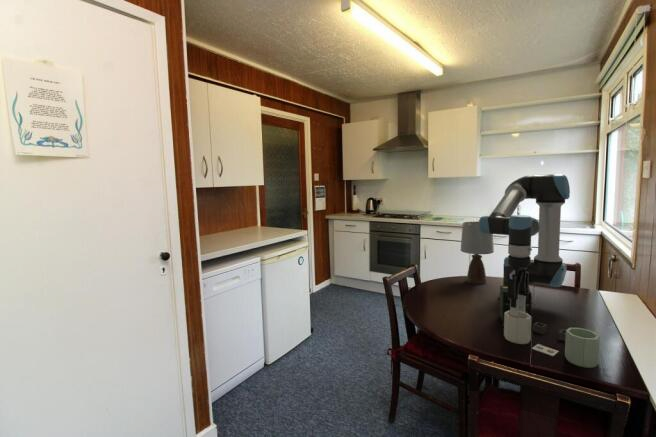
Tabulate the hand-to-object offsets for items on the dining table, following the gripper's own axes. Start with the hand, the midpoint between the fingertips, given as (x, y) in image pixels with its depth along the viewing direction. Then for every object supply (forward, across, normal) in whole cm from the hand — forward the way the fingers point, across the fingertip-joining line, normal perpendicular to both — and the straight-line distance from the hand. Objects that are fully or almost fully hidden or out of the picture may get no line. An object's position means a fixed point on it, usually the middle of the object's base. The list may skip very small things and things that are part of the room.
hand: (517, 312), depth 128 cm
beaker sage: (+11, 0, -21) cm, 24 cm away
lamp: (+11, +57, +49) cm, 76 cm away
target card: (+11, -2, -10) cm, 15 cm away
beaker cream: (+11, 0, 0) cm, 11 cm away
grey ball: (-2, 0, 0) cm, 2 cm away
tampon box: (+11, +17, +8) cm, 22 cm away
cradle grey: (+11, +14, -3) cm, 18 cm away
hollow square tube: (+11, +14, -12) cm, 21 cm away
